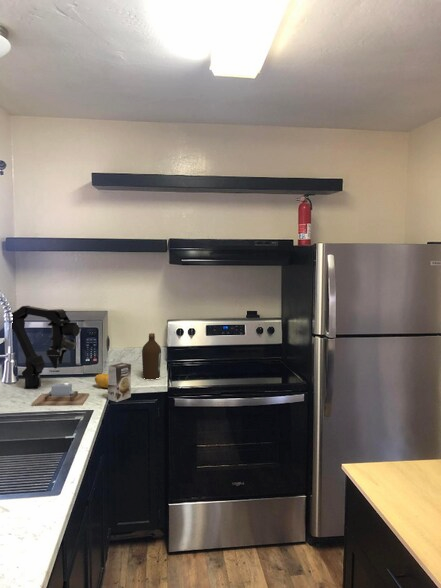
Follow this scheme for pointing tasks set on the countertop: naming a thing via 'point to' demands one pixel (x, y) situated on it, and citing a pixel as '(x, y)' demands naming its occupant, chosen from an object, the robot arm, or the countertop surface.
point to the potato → (102, 380)
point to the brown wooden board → (61, 399)
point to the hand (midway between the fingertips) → (58, 366)
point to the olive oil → (151, 358)
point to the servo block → (61, 390)
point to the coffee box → (119, 382)
